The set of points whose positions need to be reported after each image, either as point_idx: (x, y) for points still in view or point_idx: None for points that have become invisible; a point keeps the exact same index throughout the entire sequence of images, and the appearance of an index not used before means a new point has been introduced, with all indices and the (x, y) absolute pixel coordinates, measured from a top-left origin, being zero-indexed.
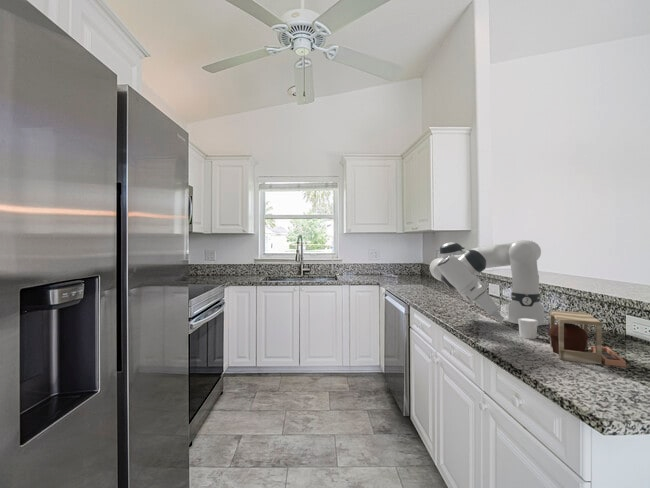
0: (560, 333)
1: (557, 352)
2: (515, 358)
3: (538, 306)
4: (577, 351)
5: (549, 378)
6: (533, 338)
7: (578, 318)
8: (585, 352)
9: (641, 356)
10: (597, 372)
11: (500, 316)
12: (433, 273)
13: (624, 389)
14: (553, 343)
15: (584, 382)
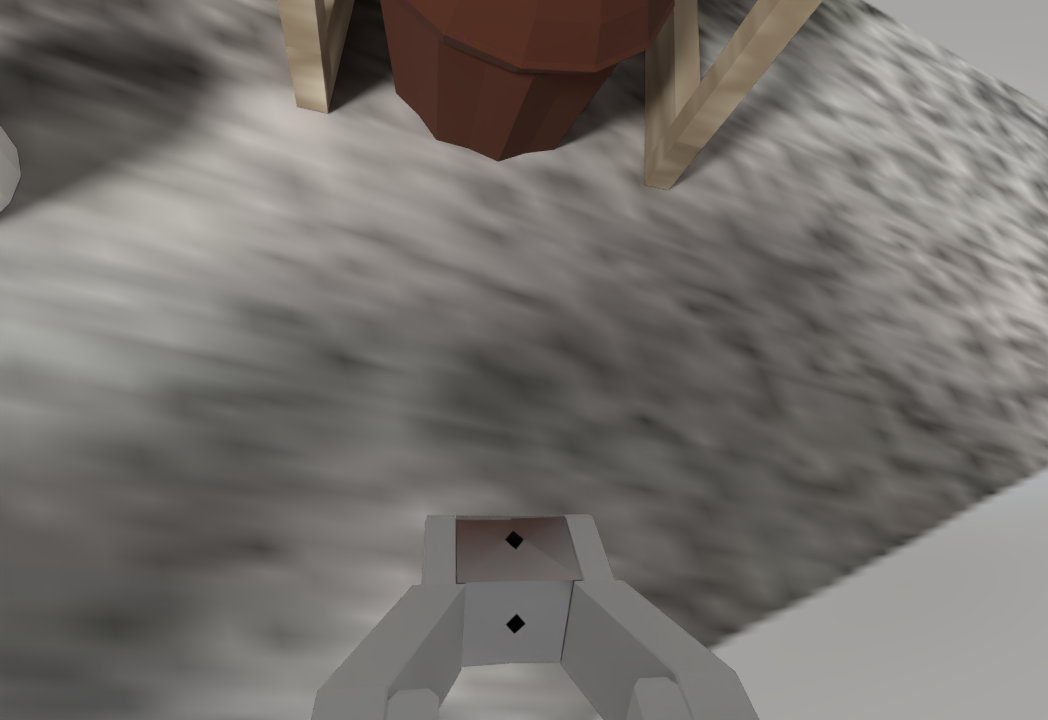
0: (789, 32)
1: (544, 144)
2: (772, 481)
3: None
4: (685, 52)
5: (1031, 369)
6: (14, 145)
7: None
8: (687, 18)
9: None
10: (816, 103)
11: (603, 577)
12: None
13: (981, 113)
14: (534, 112)
15: (990, 226)
